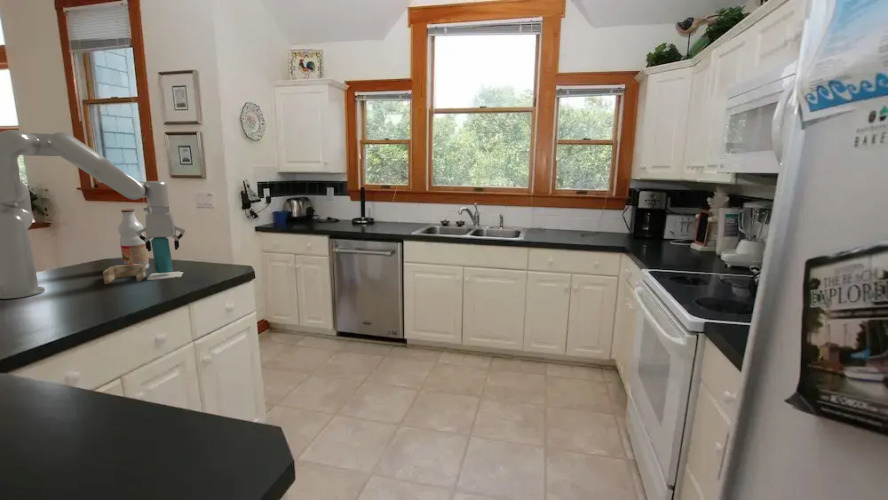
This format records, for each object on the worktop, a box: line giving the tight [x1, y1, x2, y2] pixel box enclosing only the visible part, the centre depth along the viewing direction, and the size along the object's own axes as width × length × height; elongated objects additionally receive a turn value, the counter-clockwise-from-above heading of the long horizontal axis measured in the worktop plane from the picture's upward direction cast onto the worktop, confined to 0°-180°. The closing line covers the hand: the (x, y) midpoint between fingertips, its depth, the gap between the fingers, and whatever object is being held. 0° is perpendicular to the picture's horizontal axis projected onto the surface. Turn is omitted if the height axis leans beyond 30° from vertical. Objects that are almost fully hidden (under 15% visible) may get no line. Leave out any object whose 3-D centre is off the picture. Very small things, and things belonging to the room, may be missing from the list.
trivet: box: [146, 271, 184, 281], centre depth 176 cm, size 12×10×1 cm
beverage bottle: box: [150, 231, 174, 273], centre depth 174 cm, size 6×7×20 cm
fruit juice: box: [118, 208, 150, 269], centre depth 184 cm, size 9×9×28 cm
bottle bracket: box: [102, 264, 147, 285], centre depth 169 cm, size 12×12×5 cm
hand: (163, 250), depth 174 cm, fingers open, 9 cm apart
